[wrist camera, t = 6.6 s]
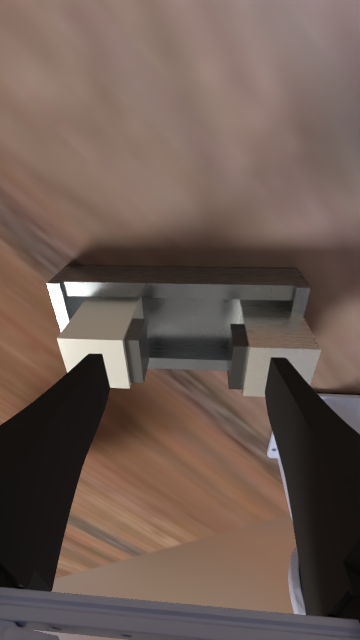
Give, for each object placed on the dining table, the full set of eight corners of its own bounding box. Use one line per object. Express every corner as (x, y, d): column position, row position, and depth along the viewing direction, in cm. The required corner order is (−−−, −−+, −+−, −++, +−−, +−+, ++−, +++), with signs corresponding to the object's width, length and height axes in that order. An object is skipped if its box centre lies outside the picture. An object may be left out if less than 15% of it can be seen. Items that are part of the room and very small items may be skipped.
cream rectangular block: (90, 292, 20) (56, 338, 15) (152, 293, 20) (137, 341, 15) (99, 334, 22) (71, 385, 17) (155, 336, 22) (142, 389, 17)
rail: (279, 349, 23) (302, 417, 17) (85, 343, 24) (50, 405, 18) (296, 268, 19) (334, 321, 14) (66, 265, 20) (14, 313, 15)
